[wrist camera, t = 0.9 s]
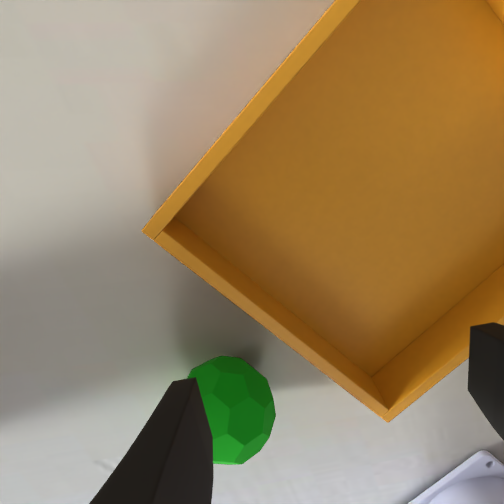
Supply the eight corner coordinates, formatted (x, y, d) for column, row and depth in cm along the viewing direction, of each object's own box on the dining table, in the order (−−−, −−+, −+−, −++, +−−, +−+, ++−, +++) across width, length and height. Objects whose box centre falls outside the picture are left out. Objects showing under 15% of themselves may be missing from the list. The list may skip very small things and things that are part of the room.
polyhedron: (277, 344, 20) (291, 409, 15) (261, 415, 22) (269, 493, 17) (184, 334, 19) (171, 398, 15) (175, 407, 21) (161, 486, 17)
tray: (613, 172, 18) (686, 182, 15) (366, 383, 21) (388, 423, 18) (422, -104, 14) (473, -162, 11) (155, 213, 17) (140, 231, 14)
